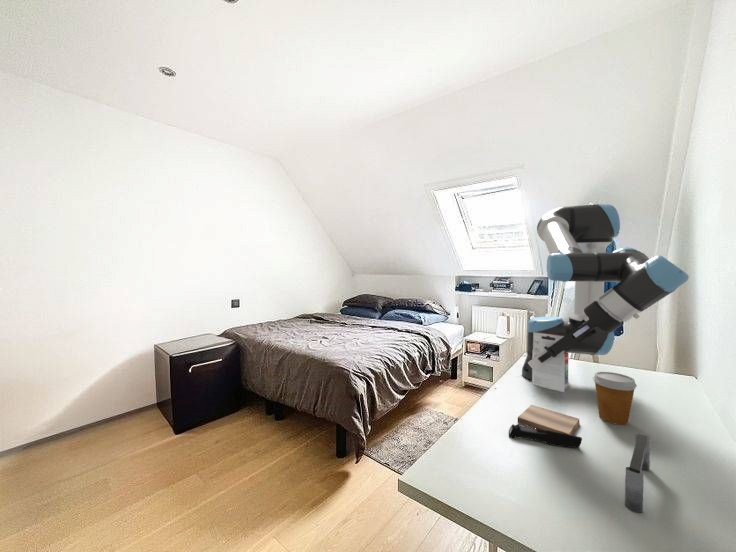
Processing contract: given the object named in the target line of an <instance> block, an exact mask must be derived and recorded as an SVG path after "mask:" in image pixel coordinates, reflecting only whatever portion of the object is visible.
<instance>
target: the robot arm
mask: <svg viewBox="0 0 736 552" xmlns="http://www.w3.org/2000/svg"><path fill="white" fill-rule="evenodd" d="M620 230H621V219H620V215H619V212H618V210H617V208H616V207H615V206H614V205H612V204H609V203H606V204H605V203H604V204H603V203H602V204H600V203H599V204H598V203H596V204H585V205H574V206H573V205H571V206H569V205H568V206H567V205H566V206H560V207H556V208H554V209H552V210H550V211H548V212H546V213H545V214H544V215H543V216H542V217H540V220H538V223H537V226H536V232H537V236H538V237H539V239H541V241H543V242H544V243H545V246H546V248H547V251H548V253H549V255H548V256H547V259H546V274H547V278H548V279H549V280H550V281H554V282H555V281H556V282H562V283H565V282H567V283H568V282H574V302H573V303H574V305H573V307H574V308H573V312H572V313H570V315H569V316H568V321H564V319H563V318H562V317H560V316H552V315H551V316H549V315H548V316H538V317H533V318H530V319H529V320H528V322H527V329H526V332H527V345H526V346H527V347H526V348H527V349H526V351H527V352H526V353H527V354H526V357H525V360H524V362H523V365H522V368H521V375H522V376H523V377H524V378H525V377H526V378H525V379H527V380H529V379H530V380H529V381H532V369H533V370H534V371H536V370H537V369H539V368H540V367H542V366H543V365H545V364H546V363H547V362H549V361H550V360H552V359H553V358H555V357H556V356H557V355H558V354H559V353H561V352H562V351H564V352H566V353H568V354H579V355H590V356H605V355H608V354H609V353H610V352H611V350H612V349H613V347H614V342H615V330H617V329H619V328H620V327H622V326H623V322H624V323H627V322H629V321H630V320H631V319H633V318H635V319H637V320H638V319H639V318H640V314H641V313H642V312H643V311H646V310H647V309H648V308H650V307H652V306H653V305H655V304H657V302H659V301H661V300H662V299H664V298H665V297H667V296H669V295H670V294H671V293H674V292H675V291H677V289H678V288H679V287H681V286H682V285H683V284H685V283H686V282H687V281H688V280H689V274H688V273H686V272H685V271H684V270H682V268H680V267H678V266H677V265H675V264H674V263H673V262H672V261H670V260H669V259H667V258H666V257H664V256H663V255H655V256H653V257H651V258H650V257H648V256H647V255H646V254H645V253H644V252H642V251H640V250H637V249H636V248H633V247H627V246H626V247H621V248H618V249H616V250H614V251H612V252H607V251H606V250H607V247H608V246H610V245H611V244H612V240H613V239H614V238H616V237H618V236H619V233H620ZM605 282H606V283H607V282H608V283H617V284H615V285H614V286H613V287H611V288H610V289H608V290H607V291H606V292H605ZM533 332H537V333H545V334H552V335H560V336H564V337H563V338H561V339H560V340H559V341H557V342H556V343H554V344H553V345H552V346H550V347H547V346H545V347H544V348H545V349H546V350H544V351H543V352H541V353H540V354H539V355H537V356H536V357H535V358H533V359H532V350H533ZM542 339H547V340H555V338H552V337H550V336H547V337H544V336H542Z"/></svg>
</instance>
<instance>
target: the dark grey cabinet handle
mask: <svg viewBox="0 0 736 552" xmlns="http://www.w3.org/2000/svg"><path fill="white" fill-rule="evenodd" d="M650 460H651V437H649V436H648V435H646V434H644V433H635V435H634V449H633V452H632V456H631V460H630V464H629V466H627V467H625V475H624V476H625V481H624V482H625V483H624V485H625V486H624V493H625V494H624V506H625V507H626V508H627V510H629V511H631V512H633V513H636V514H642V513H644V479H645V478H644V476H645V474H644V473H643V471H645V472H647V471H650V469H651V467H650V466H651V461H650Z"/></svg>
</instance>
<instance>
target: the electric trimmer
mask: <svg viewBox="0 0 736 552" xmlns="http://www.w3.org/2000/svg"><path fill="white" fill-rule="evenodd" d="M508 437H509V438H511V439H515V438H518V439H519V438H520V439H526V440H529V441H530V440H531V441H535V442H536V441H537V442H542V443H545V444H547V445H549V446H556V447H557V446H558V447H569V448H580V446H581V445H582V441H583V439H582V437H581V436H576V435H567V434H562V433H557V432H552V431H545V430H540V429H535V428H532V427H529V426H523V425H520V423H517V424H512V425H511V426H510V427H509V430H508Z"/></svg>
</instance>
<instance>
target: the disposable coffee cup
mask: <svg viewBox="0 0 736 552" xmlns="http://www.w3.org/2000/svg"><path fill="white" fill-rule="evenodd" d="M592 379H593V381H594V385H595V393H596V400H597V407H598V416H599V418H600V419H601V420H603V421H605V422H607V423H610V424H614V425H617V426H618V425H619V426H620V425H621V426H623V425H624V426H625V425H628V424H629V419H630V414H631V409H632V404H633V399H634V398H633V397H634V392H635V390H636V388H637V386H638V385H637V384H636V381H635V379H634V378H633V377H631V376H628V375H625V374H622V373H618V372H612V371H597V372H595V373H594V376H592Z"/></svg>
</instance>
